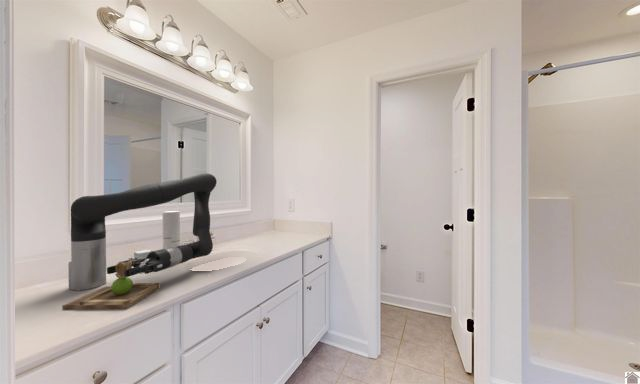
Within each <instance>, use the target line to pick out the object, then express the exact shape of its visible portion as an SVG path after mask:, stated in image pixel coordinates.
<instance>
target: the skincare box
mask: <svg viewBox="0 0 640 384" xmlns="http://www.w3.org/2000/svg"><path fill="white" fill-rule="evenodd" d="M153 251H154V250H152V249H150V248H149V249H142V250H138V251H137V250H136V251H134V252H133V254H134V255H133V259H135V258H138V259H140V258H145V259H146V257H147V256H148V254H149V253H150V252H153Z"/></svg>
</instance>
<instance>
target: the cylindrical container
mask: <svg viewBox="0 0 640 384" xmlns="http://www.w3.org/2000/svg"><path fill="white" fill-rule="evenodd" d="M180 214H181V212H180V211H179V210H169V211H162V249H165V248H170V247H176V246H181V217H180V216H181V215H180Z"/></svg>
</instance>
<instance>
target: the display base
mask: <svg viewBox="0 0 640 384" xmlns="http://www.w3.org/2000/svg"><path fill="white" fill-rule="evenodd" d="M111 286H112V285H111ZM111 286H110V285H109V286H106V285H105V286H104V287H101V288H99V289H97V290H95V291H94V290H93V292H89V293H88V294H85V295H83V296H80V297H78V298H77V299H76V298H75V299H74V300H71V301H69V302H67V303H64V304H62V310H118V309H119V310H122V309H123V310H126V309H127V308H128V309H129V308H131V307H132V306H135V305H136V304H138V303H139V302H141V301H142V300H144V299H146V298H147V297H149V296H151V295H152V294H154V293H156V292H157V291H159V290H160V282H144V283H143V282H139V283H138V282H137V283H135V282H133V286H132V288H131V290H130V291H129V292H127V293H126V294H123V295H116V294H114V293H113V292H112V291H111Z"/></svg>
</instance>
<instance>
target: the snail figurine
mask: <svg viewBox="0 0 640 384" xmlns="http://www.w3.org/2000/svg"><path fill="white" fill-rule="evenodd" d="M131 259H134V257H129V258H128V260H131ZM119 262H120V263H119ZM119 262H118V263H116V264H115V265H116V267H115V271H116V273H115V277H116V279H115V280H114V281H113V282H112V284H111V291H112V292H113V293H114V294H116V295H123V294H126V293H127V292H129V291H130V290H131V288H132V286H133V283H134V282H133V279H131V278H130V277H125V276H124V271H125V270H127V269H130V268H131V265H132V261H129V262H127V265H126V264H125V263H124V262H122V261H119Z"/></svg>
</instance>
